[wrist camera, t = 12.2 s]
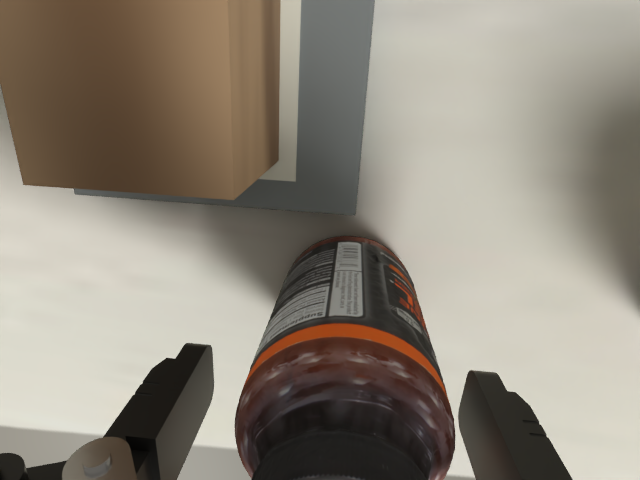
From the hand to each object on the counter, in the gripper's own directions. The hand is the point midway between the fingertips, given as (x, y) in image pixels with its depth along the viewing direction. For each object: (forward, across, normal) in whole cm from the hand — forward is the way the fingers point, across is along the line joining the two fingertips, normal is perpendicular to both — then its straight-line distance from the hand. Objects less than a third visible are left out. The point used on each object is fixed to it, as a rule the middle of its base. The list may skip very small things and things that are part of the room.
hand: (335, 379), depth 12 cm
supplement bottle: (+7, 0, 0) cm, 7 cm away
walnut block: (+5, +6, -10) cm, 12 cm away
